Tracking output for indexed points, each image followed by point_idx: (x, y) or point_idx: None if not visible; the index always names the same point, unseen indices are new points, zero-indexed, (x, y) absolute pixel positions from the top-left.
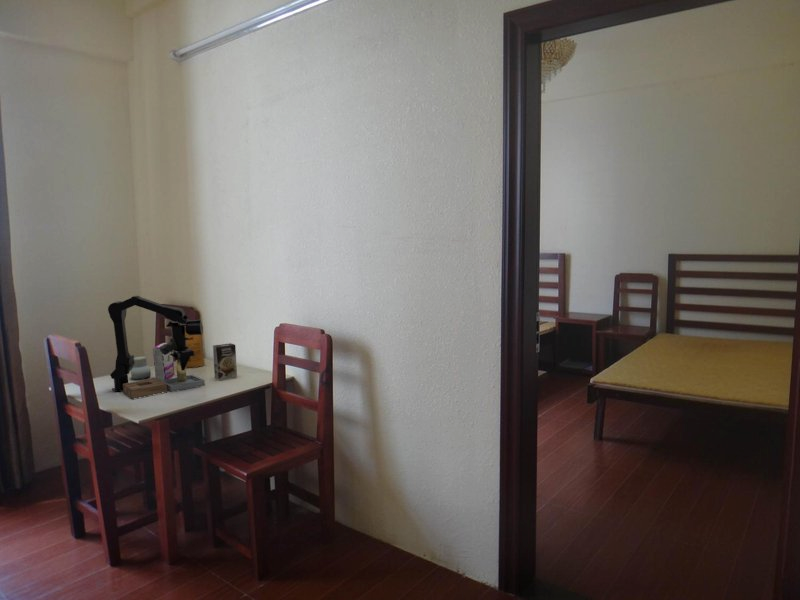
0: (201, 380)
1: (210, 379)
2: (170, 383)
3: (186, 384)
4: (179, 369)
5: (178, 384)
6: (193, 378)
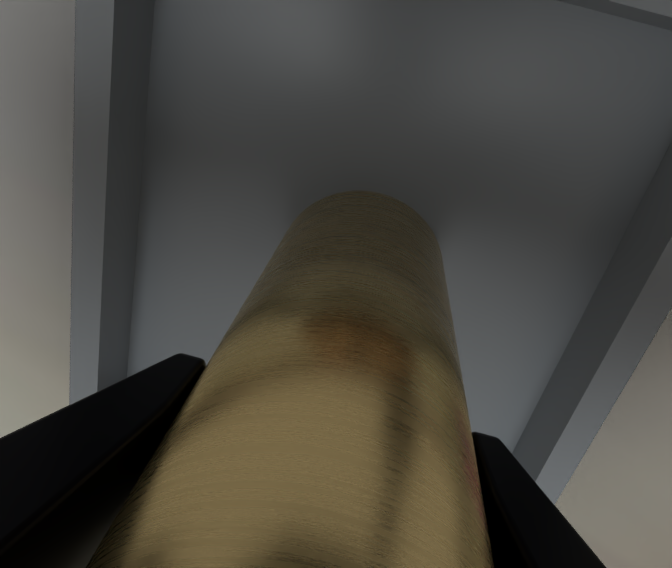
0: (69, 402)
1: None
2: (627, 184)
3: (86, 171)
4: (241, 335)
5: (418, 212)
6: None
